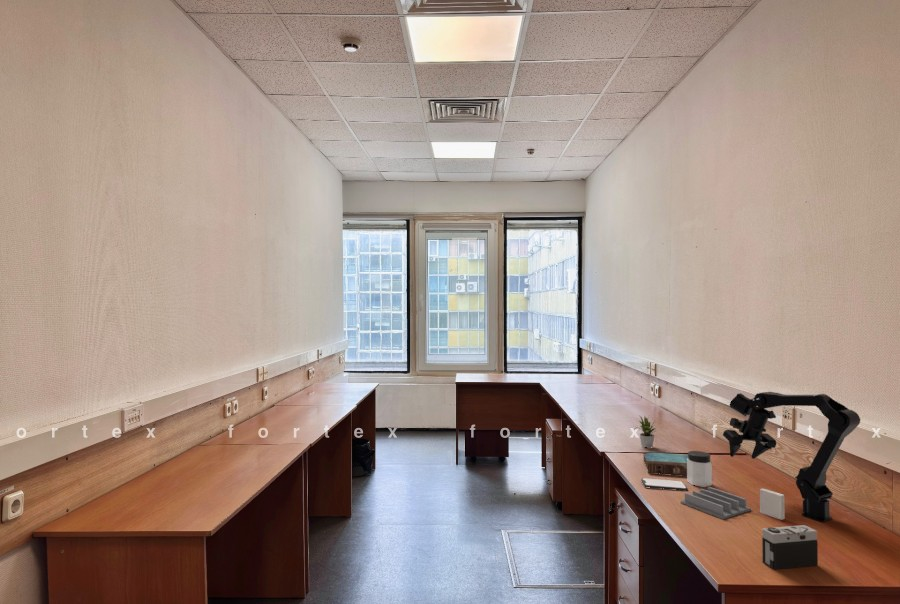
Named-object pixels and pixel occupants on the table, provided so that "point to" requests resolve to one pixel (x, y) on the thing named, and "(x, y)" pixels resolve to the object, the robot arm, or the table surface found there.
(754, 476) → the table surface
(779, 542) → the camera
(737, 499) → the dish rack
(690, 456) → the jar
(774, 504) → the white slab
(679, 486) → the phone case
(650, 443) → the house plant
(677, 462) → the brown teal box
